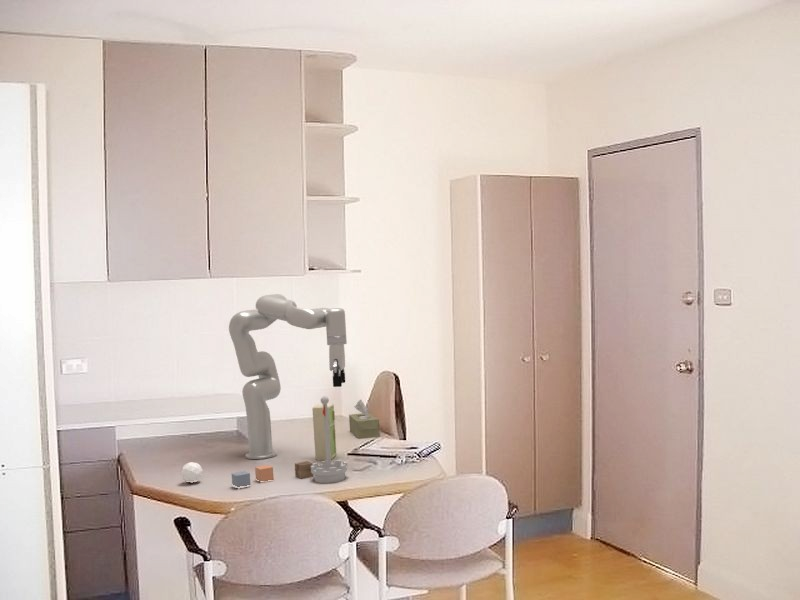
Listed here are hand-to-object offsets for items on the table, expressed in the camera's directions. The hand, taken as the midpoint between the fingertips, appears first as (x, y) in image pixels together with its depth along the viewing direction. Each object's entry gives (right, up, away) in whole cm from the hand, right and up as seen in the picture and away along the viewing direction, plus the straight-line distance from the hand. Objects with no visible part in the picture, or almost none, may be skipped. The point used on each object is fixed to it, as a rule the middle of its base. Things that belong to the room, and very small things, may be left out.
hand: (339, 384), depth 348 cm
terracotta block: (-26, -33, -19) cm, 46 cm away
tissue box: (+8, -28, +55) cm, 62 cm away
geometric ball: (-53, -35, -16) cm, 65 cm away
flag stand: (-2, -32, -23) cm, 39 cm away
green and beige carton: (-6, -30, +12) cm, 33 cm away
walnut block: (-12, -32, -17) cm, 38 cm away
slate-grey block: (-33, -34, -27) cm, 54 cm away
